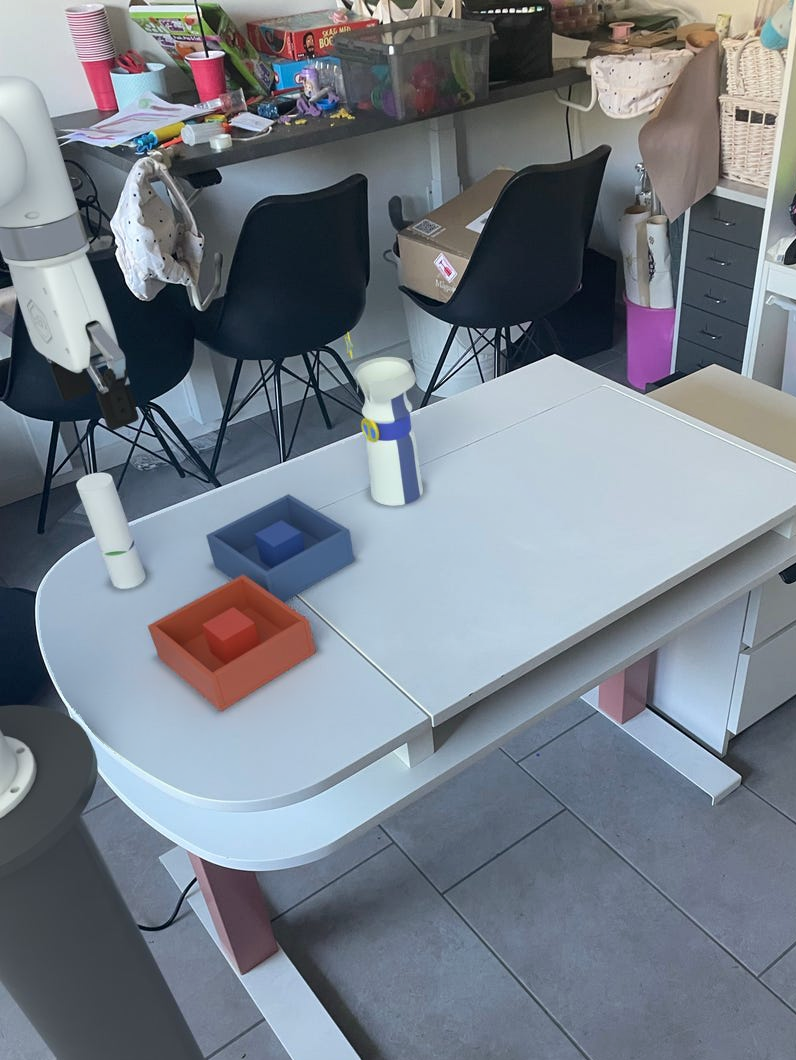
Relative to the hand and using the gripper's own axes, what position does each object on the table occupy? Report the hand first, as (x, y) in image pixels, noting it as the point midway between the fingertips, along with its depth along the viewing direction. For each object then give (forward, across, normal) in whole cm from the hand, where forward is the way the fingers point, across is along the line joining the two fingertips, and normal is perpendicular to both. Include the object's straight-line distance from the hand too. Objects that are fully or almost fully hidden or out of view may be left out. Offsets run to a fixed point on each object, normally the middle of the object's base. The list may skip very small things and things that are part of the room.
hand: (100, 409), depth 96 cm
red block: (+30, +9, +3) cm, 31 cm away
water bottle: (+31, -4, +40) cm, 50 cm away
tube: (+31, -15, +2) cm, 34 cm away
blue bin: (+30, -2, +18) cm, 35 cm away
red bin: (+30, +9, +3) cm, 32 cm away
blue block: (+30, -2, +18) cm, 35 cm away
